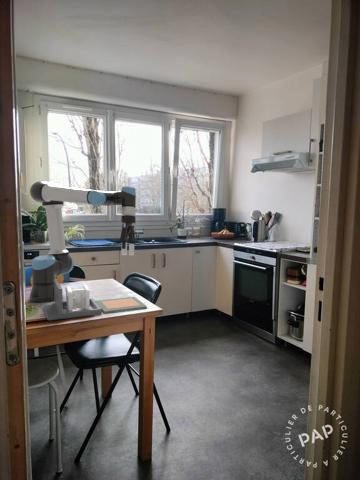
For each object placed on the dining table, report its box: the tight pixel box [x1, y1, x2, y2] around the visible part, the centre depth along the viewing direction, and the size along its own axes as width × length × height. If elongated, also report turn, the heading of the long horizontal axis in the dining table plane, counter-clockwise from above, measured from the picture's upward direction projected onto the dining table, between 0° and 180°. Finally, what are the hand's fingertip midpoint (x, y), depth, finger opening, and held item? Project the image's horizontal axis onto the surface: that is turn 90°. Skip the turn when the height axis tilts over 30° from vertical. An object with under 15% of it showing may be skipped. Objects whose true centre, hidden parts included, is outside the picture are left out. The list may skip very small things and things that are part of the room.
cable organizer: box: [64, 284, 91, 312], centre depth 170 cm, size 15×11×12 cm
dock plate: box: [95, 296, 148, 314], centre depth 180 cm, size 20×22×1 cm
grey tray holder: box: [43, 279, 103, 321], centre depth 169 cm, size 20×24×14 cm
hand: (128, 255), depth 182 cm, fingers open, 13 cm apart
